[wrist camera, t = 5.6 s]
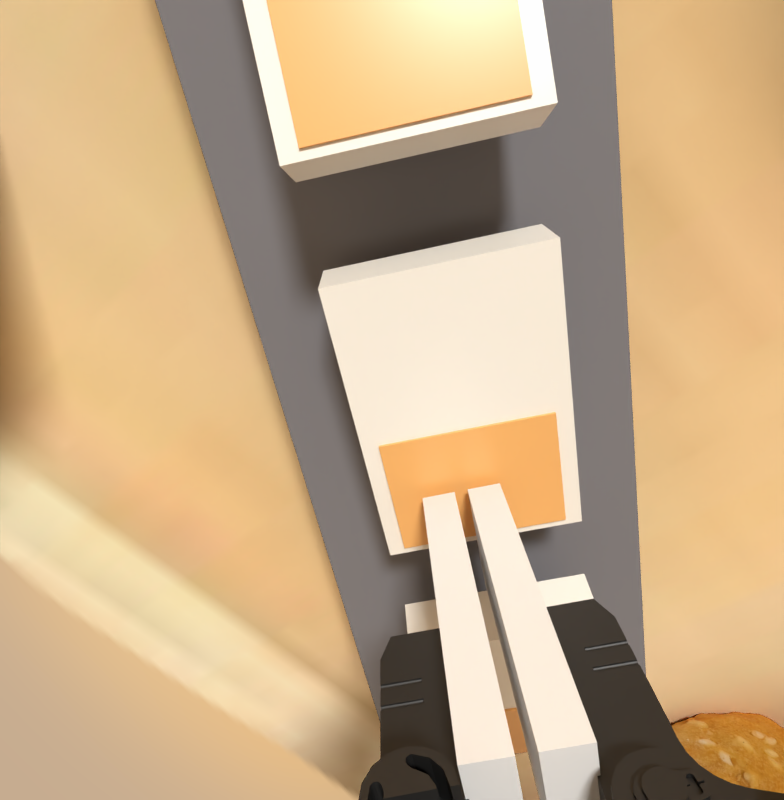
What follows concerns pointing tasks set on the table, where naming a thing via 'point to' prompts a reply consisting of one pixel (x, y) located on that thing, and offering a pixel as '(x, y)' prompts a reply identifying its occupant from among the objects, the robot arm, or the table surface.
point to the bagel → (736, 748)
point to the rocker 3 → (553, 594)
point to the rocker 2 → (460, 378)
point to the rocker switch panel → (411, 231)
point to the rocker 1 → (396, 77)
